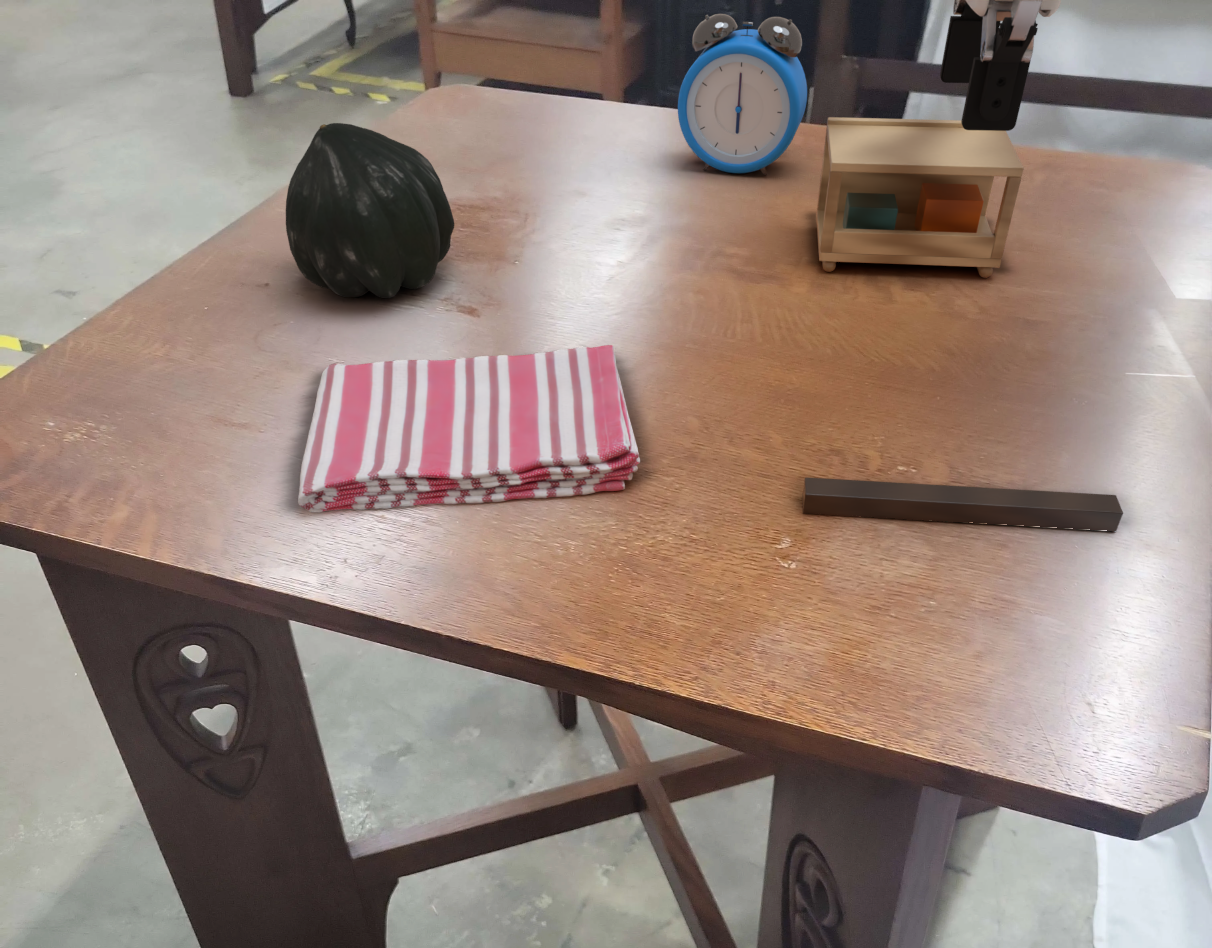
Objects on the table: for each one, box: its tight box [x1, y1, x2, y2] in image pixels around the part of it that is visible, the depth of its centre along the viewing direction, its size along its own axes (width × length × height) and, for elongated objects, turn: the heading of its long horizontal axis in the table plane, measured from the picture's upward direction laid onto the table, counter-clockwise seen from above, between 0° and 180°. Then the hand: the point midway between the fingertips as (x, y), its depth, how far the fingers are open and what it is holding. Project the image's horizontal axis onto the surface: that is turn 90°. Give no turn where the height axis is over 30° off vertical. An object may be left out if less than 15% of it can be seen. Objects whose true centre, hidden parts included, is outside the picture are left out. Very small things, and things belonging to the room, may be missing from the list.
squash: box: [285, 122, 455, 299], centre depth 93 cm, size 14×15×15 cm
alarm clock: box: [677, 13, 808, 176], centre depth 113 cm, size 13×6×15 cm, turn 74°
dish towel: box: [297, 344, 641, 513], centre depth 77 cm, size 17×23×4 cm
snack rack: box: [815, 116, 1025, 279], centre depth 97 cm, size 16×11×10 cm
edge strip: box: [801, 476, 1124, 532], centre depth 69 cm, size 20×2×2 cm, turn 83°
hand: (974, 104), depth 69 cm, fingers open, 9 cm apart
